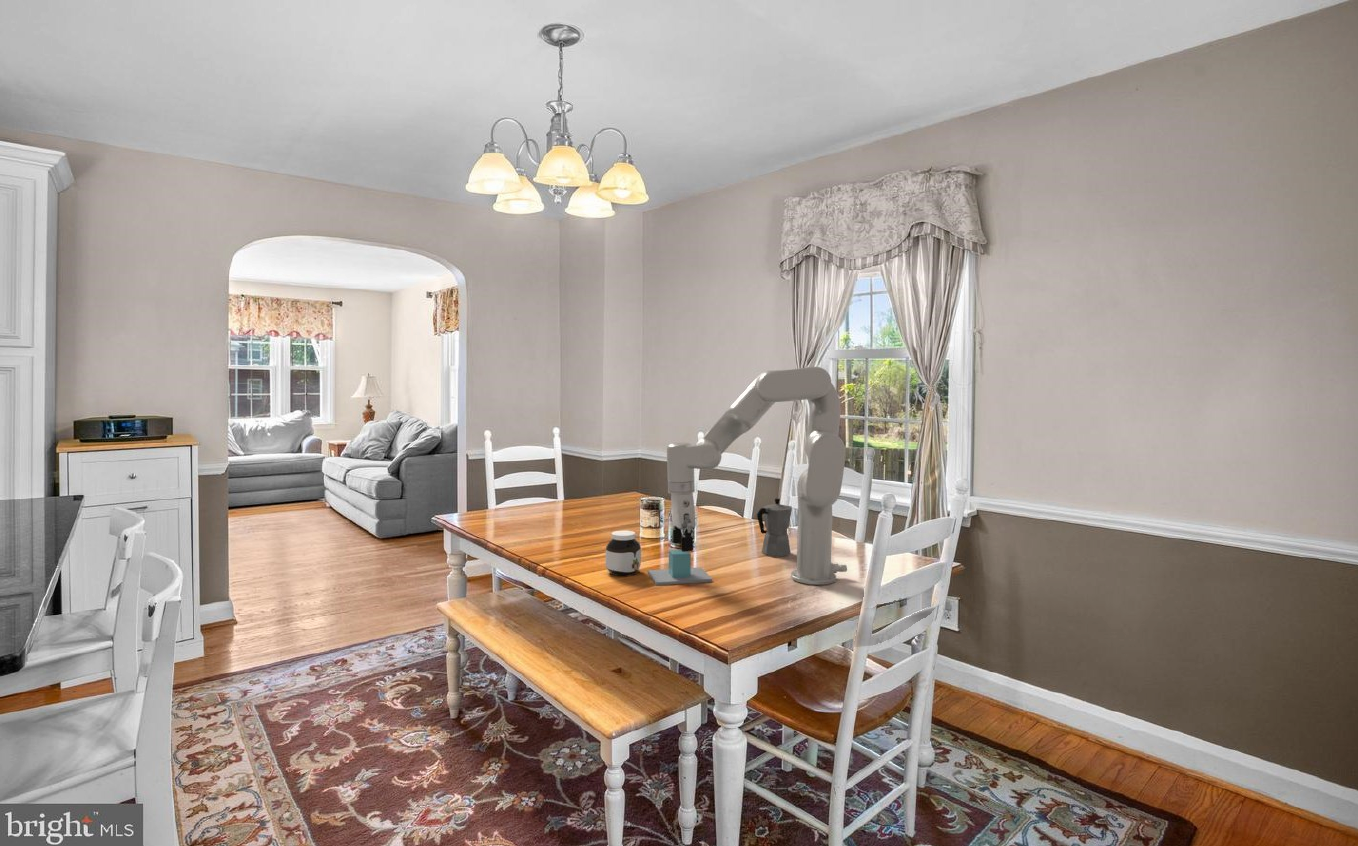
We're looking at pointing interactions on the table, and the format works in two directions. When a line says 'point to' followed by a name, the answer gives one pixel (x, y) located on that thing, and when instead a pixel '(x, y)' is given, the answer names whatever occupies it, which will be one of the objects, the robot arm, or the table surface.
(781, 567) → the table surface
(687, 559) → the teal block
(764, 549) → the coffeepot
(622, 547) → the spread jar
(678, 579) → the stand
